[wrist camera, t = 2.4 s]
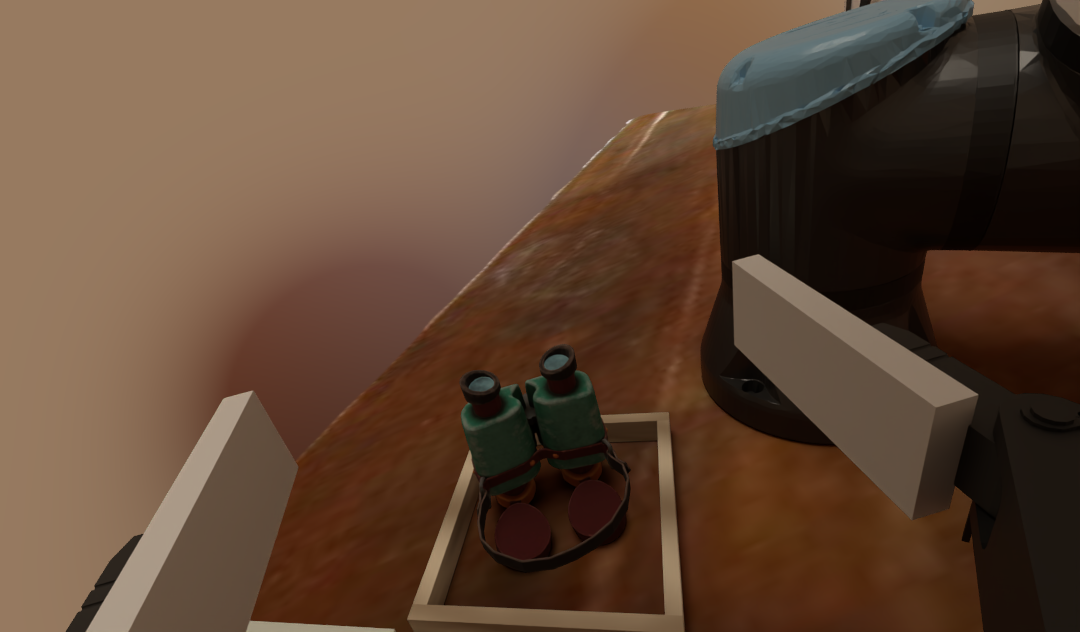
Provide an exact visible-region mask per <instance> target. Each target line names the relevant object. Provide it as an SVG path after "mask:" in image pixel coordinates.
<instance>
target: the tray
mask: <svg viewBox="0 0 1080 632" xmlns="http://www.w3.org/2000/svg"><path fill="white" fill-rule="evenodd" d="M246 632H396V631H395V629H383V628H365V627H348V626H330V625H312V624H294V623H276V622H259V621H249V624H248V627H247V631H246Z"/></svg>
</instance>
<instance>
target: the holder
mask: <svg viewBox="0 0 1080 632" xmlns="http://www.w3.org/2000/svg"><path fill="white" fill-rule="evenodd" d="M601 418H602V419H603V422H604V425H605V427H606V428H607V429H608V432H607V436H608V442H631V441H658V458H659V482H660V506H661V530H662V554H663V579H664V603H665V615H655V614H632V613H609V612H586V611H562V610H539V609H516V608H493V607H469V606H446V605H444V602H445V599H446V596H447V593H448V589H449V586H450V583H451V580H452V577H453V574H454V571H455V567H456V564H457V561H458V558H459V555H460V552H461V549H462V545H463V542H464V539H465V536H466V533H467V530H468V527H469V523H470V520H471V517H472V514H473V511H474V508H475V505H476V502H477V498H478V495H479V492H480V490H479V481H478V479H477V477H476V475H475V474H474V473H473V469H474V468H473V464H472V460H471V459H472V455H471V452H470V451H469V453H468V456H467V459H466V461H465V464H464V467H463V470H462V472H461V475H460V478H459V480H458V483H457V486H456V489H455V491H454V494H453V497H452V499H451V502H450V505H449V508H448V510H447V513H446V516H445V518H444V521H443V524H442V527H441V529H440V532H439V535H438V537H437V540H436V543H435V546H434V548H433V551H432V554H431V556H430V559H429V562H428V564H427V567H426V570H425V573H424V575H423V578H422V581H421V583H420V586H419V589H418V592H417V594H416V597H415V600H414V602H413V605H412V608H411V611H410V613H409V616H408V619H407V620H408V622H409V624H410V625H411V627H412V629H413V630H414V632H685V622H684V608H683V594H682V580H681V567H680V553H679V539H678V525H677V511H676V497H675V483H674V469H673V455H672V441H671V429H670V420H669V412H661V413H640V414H619V415H601ZM535 437H536V441H537V445H541V444H540V442H539V440H538V436H537V433H535Z"/></svg>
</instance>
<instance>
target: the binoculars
mask: <svg viewBox="0 0 1080 632" xmlns="http://www.w3.org/2000/svg"><path fill="white" fill-rule="evenodd" d="M539 367H540V371H541V374H542V376H540V377H536V378H533V379H530V380H527V381H526V382H525V388H526V393H527V394H524V395H522V393H521V390H520V388H519V386H518V384H514V385H510V386H507V387H503V388H501V386H500V383H499V380H498V378H497V376H496V375H494V374H493V373H491V372H488V371H485V370H473V371H470V372H467V373H465V374H464V375H463V376H462V377H461V379H460V386H461V389H462V391H463V394H464V397H465V399H466V401H467V402H469V403H468V404H467V405H466V406H465V407H464V408H463V410H462V412H461V420H462V425H463V429H464V432H465V436H466V439H467V442H468V446H469V449H470V452H471V455H472V459H471V460H472V464H473V468H474V469H473V473H474V474H475V475H476V477H477V479H478V481H479V490H480V492H479V503H478V507H477V515H478V522H477V523H478V529H479V535H480V540H481V542H482V545H483V547H484V549H485V550H486V551H487V552H488V553H489V554H490V555H491V556H492V558H493V559H494V560H495V561H496V562H497V563H500V564H503V565H506V566H508V567H510V568H512V569H515V570H519V571H522V572H525V573H526V572H535V571H543V570H552V569H556V568H558V567H560V566H563V565H565V564H568V563H570V562H573V561H575V560H577V559H579V558H581V557H582V556H584V555H586V554H587V553H589V552H591V551H592V550H594V549H596V548H597V547H598V546H599V545H605V544H608V543H610V542H612V541H614V540H615V539H616V538H617V537H619V535H620V534H621V533H622V531H623V529H624V527H625V523H626V512H627V510H628V504H629V496H630V489H631V488H630V481H629V476H628V473H629V472H630V470H631V469H630V468H629V466H628V465H627V463H626V462H623V461H622V460H620V459H618V458H617V455H616V453H615V451H614V450H613V449H612V446H611V444H610V443H609V442H608V436H607V432H608V429H607V428H606V427H605V425H604V422H603V419H602V418H601V415H600V411H599V408H598V404H597V400H596V396H595V392H594V389H593V386H592V383H591V381H590V379H589V377H588V375H587V374H585V373H583V372H581V371H576V369H577V364H576V359H575V353H574V350H573V348H572V347H571V346H570V345H567V344H561V345H557V346H554V347H552V348H550V349H549V350H548V351H546V352H545V353H544V355H543V356H542V358H541V359H540V362H539ZM535 433H537V436H538V440H539V442H540V444H541V445H543V446H544V448H542V449H539V450H537V449H536V446H537V441H536V437H535ZM608 448H609V449H608ZM544 458H547V460H548V462H549V464H550V465H552V466H553V467H555V468H558V469H561V471H562V475H563V478H564V479H565V480H566V481H567V482H568V483H570V484H571V485H573V486H576V487H577V488H576V489H575V490H574V492H573V494H572V496H571V499H570V502H569V507H568V515H569V520H570V522H571V524H572V526H573V528H574V530H575V532H576V533H577V535H578V536H579V537H580V538H581V539H582V540H583V542H581V543H580V544H578V545H576V546H575V547H573V548H570V549H568V550H566V551H563V552H561V553H558V554H556V555H554V556H551V557H547V556H548V555H549V552H550V549H551V531H550V525H549V523H548V520H547V519H546V517H545V516H544V515H543V514H542V513H541V512H540V511H539V510H538V509H536V508H535V507H533V506H531V505H529V504H528V503H529V502H530V501H531V500H532V499H533V497H534V494H535V492H536V484H535V481H534V477H535V476H536V475H537V474H538V472H539V470H540V467H541V463H540V460H542V459H544ZM605 458H606V460H607V461H608V464H609V465H610V467H611V468H612V469H615V470H616V471H618V472H619V473H621V474H622V475H623V476H624V478H625V481H626V488H625V495H624V499H623V501H621V499H620V497H619V495H618V493H617V492H616V491H615V490H614V489H613V488H612V487H610V486H609V485H608V484H606V483H604V482H601V481H598V478H599V477H600V475H601V473H602V463H601V462H602V461H603V460H605ZM491 495H492V496H496V499H497V501H498V503H499V504H501V505H502V506H504V507H506V508H507V509H506V510H505V511H504V512H503V514H502V515H501V517H500V518H499V520H498V523H497V525H496V529H495V542H496V547H497V551H498V552H496V551H494V550H493V549H492V548H491V547H490V546H489V545H488V544H487V543H486V541H485V535H484V528H485V520H486V514H487V511H488V509H490V508H491Z"/></svg>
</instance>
